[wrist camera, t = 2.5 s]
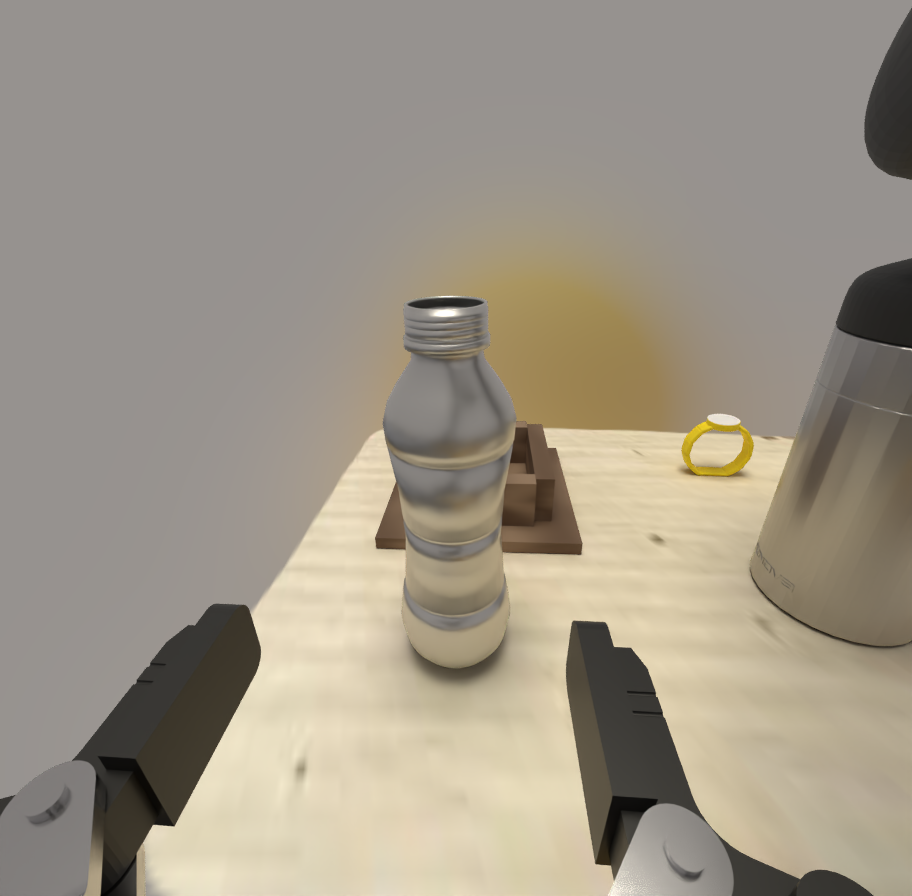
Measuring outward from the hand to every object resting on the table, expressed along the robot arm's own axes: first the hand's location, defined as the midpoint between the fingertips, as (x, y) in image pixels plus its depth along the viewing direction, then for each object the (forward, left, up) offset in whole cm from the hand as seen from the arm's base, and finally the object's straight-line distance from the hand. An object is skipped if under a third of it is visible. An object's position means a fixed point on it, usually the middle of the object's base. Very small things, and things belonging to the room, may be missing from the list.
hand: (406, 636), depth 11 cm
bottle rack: (-1, -28, -14) cm, 31 cm away
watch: (-24, -33, -14) cm, 43 cm away
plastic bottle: (0, -12, -14) cm, 18 cm away
